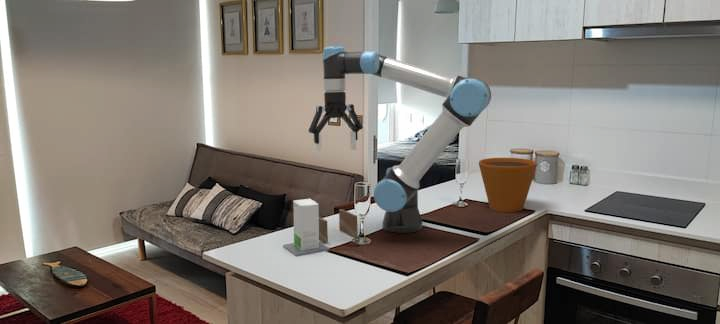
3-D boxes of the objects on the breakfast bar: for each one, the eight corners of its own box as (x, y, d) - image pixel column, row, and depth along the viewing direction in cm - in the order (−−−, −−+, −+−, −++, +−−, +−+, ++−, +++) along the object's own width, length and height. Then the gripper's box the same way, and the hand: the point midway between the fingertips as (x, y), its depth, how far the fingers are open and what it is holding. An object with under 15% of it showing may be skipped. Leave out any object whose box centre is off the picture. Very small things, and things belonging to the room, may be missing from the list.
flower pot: (515, 218, 214) (516, 168, 210) (466, 207, 231) (467, 162, 228) (546, 207, 229) (548, 161, 226) (499, 198, 247) (499, 155, 243)
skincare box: (293, 244, 184) (291, 200, 181) (311, 241, 186) (310, 198, 184) (301, 251, 176) (300, 205, 174) (320, 248, 179) (319, 202, 176)
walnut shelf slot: (342, 229, 202) (341, 209, 201) (357, 237, 192) (357, 215, 191) (310, 235, 196) (310, 213, 195) (324, 243, 186) (324, 221, 185)
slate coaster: (314, 240, 190) (314, 239, 189) (329, 249, 179) (329, 248, 179) (282, 246, 184) (282, 244, 184) (296, 256, 173) (296, 254, 173)
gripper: (360, 90, 198) (361, 147, 202) (297, 92, 186) (300, 152, 190) (370, 90, 192) (371, 149, 195) (306, 92, 180) (308, 155, 183)
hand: (336, 151), depth 192 cm, fingers open, 13 cm apart
